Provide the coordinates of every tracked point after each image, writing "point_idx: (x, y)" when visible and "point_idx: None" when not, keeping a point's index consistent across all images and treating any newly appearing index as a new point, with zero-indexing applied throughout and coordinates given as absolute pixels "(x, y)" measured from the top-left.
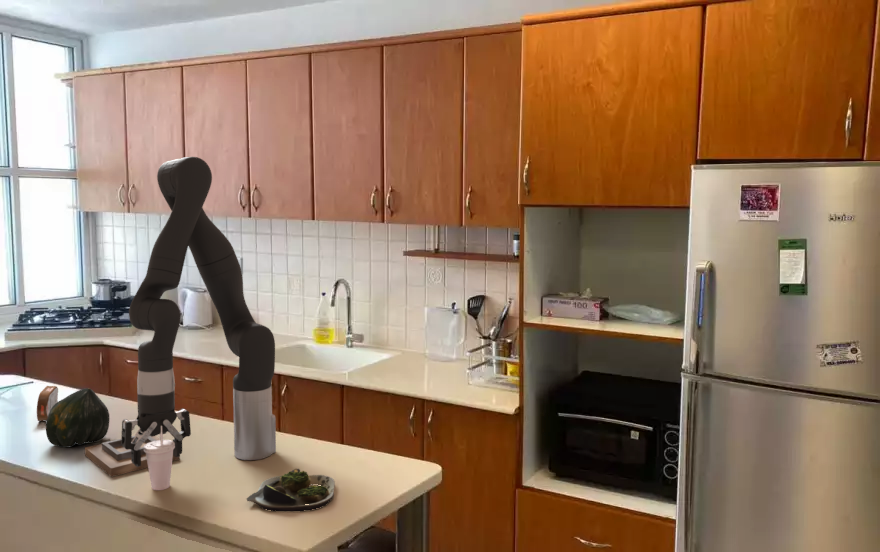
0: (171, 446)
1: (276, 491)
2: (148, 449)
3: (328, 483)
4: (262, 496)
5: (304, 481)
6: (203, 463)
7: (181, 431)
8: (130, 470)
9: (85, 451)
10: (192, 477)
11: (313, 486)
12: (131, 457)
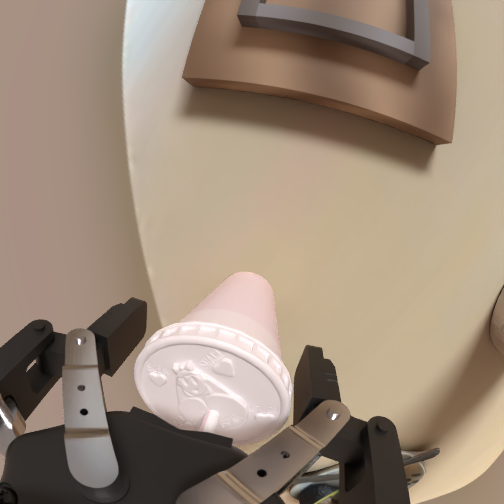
0: (235, 445)
1: None
2: (141, 397)
3: None
4: (315, 482)
5: None
6: (448, 249)
7: (351, 447)
8: (258, 91)
9: None
10: (352, 316)
11: None
12: (104, 316)
